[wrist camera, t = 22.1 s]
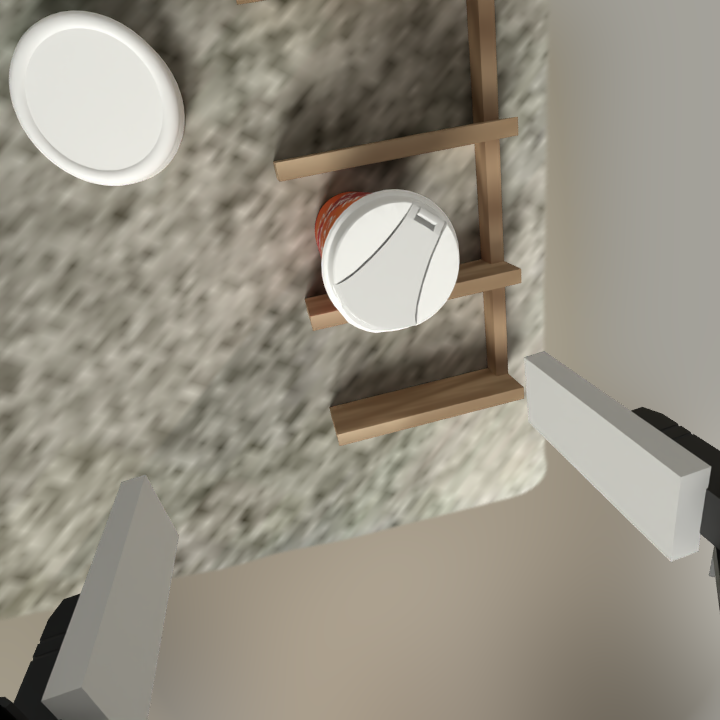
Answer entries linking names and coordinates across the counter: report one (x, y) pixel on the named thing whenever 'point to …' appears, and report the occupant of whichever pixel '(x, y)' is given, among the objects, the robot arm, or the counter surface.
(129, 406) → the counter surface
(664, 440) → the robot arm
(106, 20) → the white round dish
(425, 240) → the coffee cup
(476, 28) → the oak rack
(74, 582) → the counter surface
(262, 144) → the counter surface
